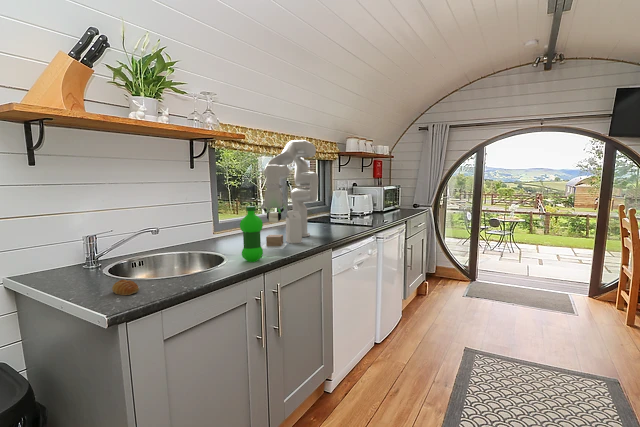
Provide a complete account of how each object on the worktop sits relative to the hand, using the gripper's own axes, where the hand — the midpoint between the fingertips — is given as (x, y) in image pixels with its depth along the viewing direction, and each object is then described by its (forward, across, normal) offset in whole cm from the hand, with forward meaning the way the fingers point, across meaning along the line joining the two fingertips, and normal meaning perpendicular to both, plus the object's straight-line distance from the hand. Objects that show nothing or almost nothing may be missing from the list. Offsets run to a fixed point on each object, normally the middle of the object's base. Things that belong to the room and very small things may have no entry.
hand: (274, 220), depth 188 cm
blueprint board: (+15, 0, +3) cm, 15 cm away
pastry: (+16, +36, +78) cm, 87 cm away
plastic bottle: (+15, +4, +33) cm, 37 cm away
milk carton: (+15, -10, -9) cm, 20 cm away
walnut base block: (+15, 0, 0) cm, 15 cm away
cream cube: (+1, 0, 0) cm, 1 cm away
